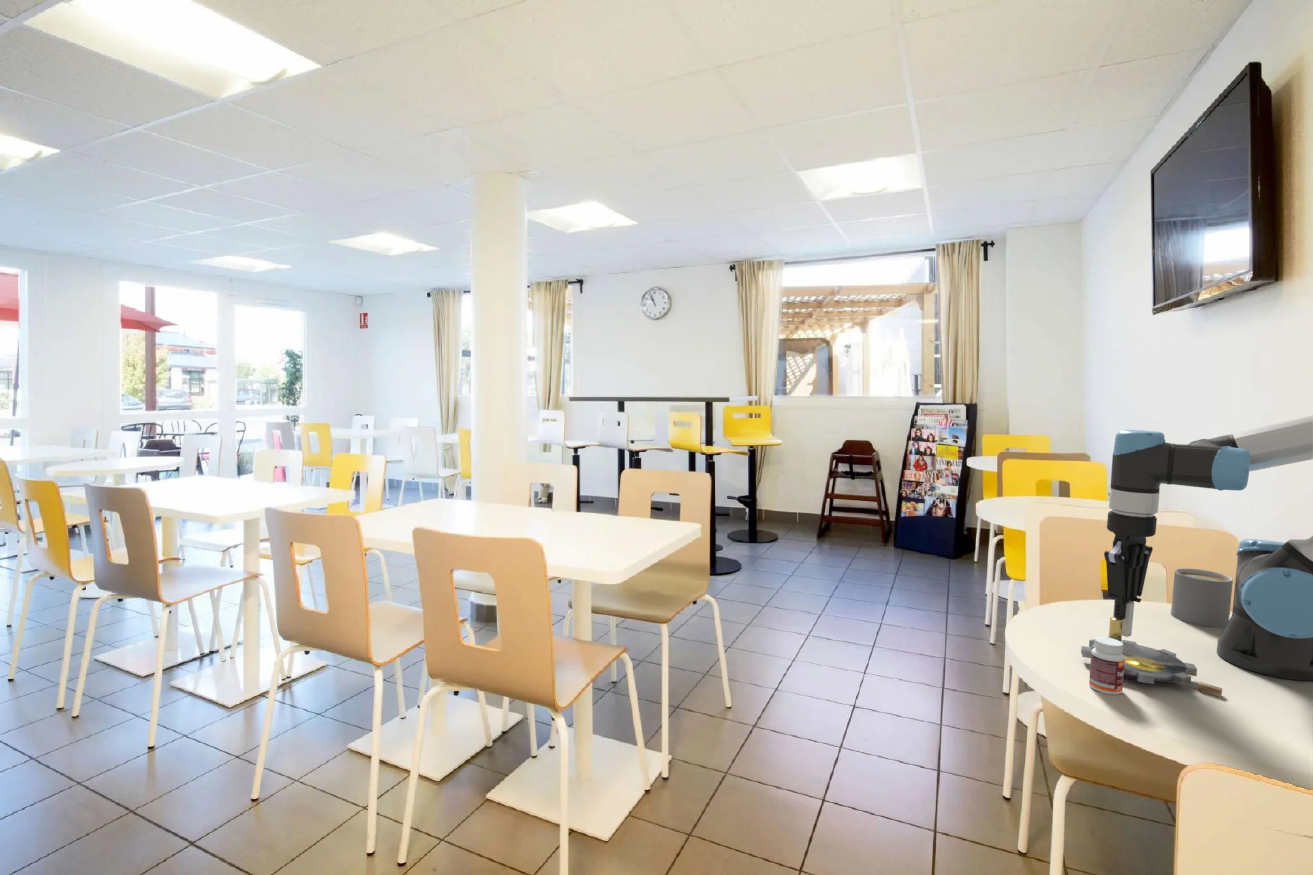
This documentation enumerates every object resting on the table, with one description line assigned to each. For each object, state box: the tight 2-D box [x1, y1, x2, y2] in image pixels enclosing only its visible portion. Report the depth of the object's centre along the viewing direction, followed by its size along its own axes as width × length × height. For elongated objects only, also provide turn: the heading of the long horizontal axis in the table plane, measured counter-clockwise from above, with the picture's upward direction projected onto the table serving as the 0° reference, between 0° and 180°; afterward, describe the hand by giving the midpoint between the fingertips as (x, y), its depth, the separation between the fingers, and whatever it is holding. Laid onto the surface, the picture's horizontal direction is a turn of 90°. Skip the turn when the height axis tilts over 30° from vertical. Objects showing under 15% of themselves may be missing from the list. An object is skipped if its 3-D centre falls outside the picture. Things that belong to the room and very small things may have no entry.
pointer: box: [1196, 681, 1223, 698], centre depth 112 cm, size 3×1×1 cm, turn 38°
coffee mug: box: [1170, 567, 1234, 628], centre depth 148 cm, size 13×10×10 cm
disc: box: [1080, 616, 1198, 686], centre depth 120 cm, size 17×17×6 cm
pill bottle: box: [1088, 636, 1125, 696], centre depth 113 cm, size 5×5×8 cm
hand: (1121, 633), depth 127 cm, fingers closed
